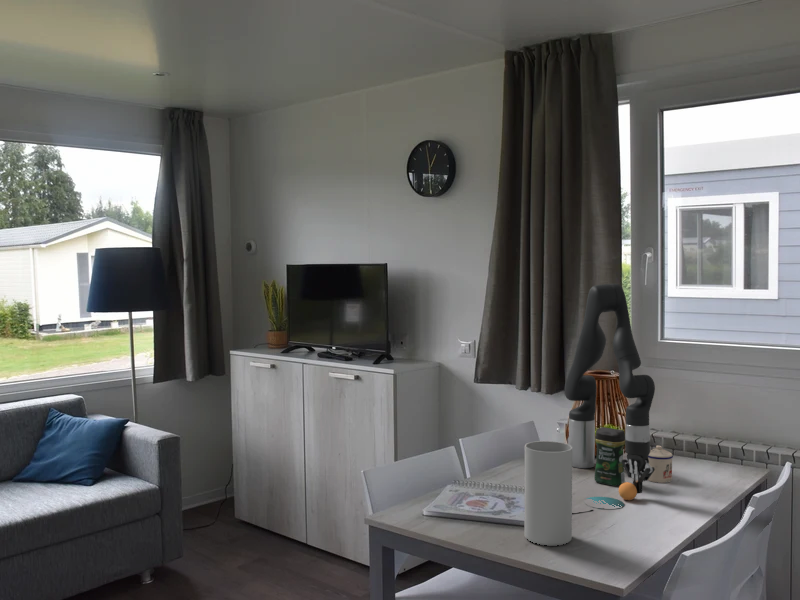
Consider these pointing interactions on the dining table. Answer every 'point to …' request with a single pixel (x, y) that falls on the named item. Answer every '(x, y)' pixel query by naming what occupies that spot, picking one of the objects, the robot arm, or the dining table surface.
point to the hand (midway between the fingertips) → (637, 492)
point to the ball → (627, 491)
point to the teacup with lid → (660, 465)
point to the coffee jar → (609, 456)
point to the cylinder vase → (548, 493)
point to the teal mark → (608, 501)
